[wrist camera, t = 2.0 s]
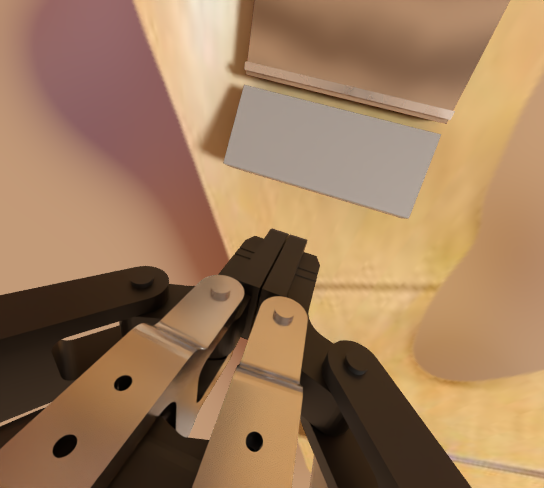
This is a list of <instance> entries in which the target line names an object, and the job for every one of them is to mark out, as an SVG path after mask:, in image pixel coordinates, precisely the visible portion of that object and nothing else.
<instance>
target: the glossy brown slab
mask: <svg viewBox="0 0 544 488" xmlns="http://www.w3.org/2000/svg"><path fill="white" fill-rule="evenodd" d="M509 2H510V0H255V1H254V10H253V18H252V27H251V35H250V44H249V52H248V60H247V61H245V68H244V70H246V75H250V76H254V77H258V78H263V79H267V80H271V81H275V82H279V83H283V84H287V85H291V86H295V87H299V88H303V89H307V90H311V91H315V92H319V93H323V94H327V95H331V96H335V97H339V98H344V99H348V100H352V101H356V102H360V103H364V104H368V105H372V106H376V107H380V108H384V109H388V110H392V111H396V112H400V113H404V114H408V115H412V116H416V117H420V118H424V119H429V120H433V121H437V122H441V123H445V124H447V122H448V120H451V118H452V116H453V114H454V112H455V111H453V110H454V108H455V106H456V104H457V102H458V100H459V98H460V97H461V95H462V93H463V91H464V89H465V87H466V85H467V83H468V81H469V79H470V77H471V75H472V73H473V71H474V69H475V68H476V66H477V64H478V62H479V60H480V58H481V56H482V54H483V52H484V50H485V48H486V46H487V44H488V42H489V40H490V39H491V37H492V35H493V33H494V31H495V29H496V27H497V25H498V23H499V21H500V19H501V17H502V15H503V13H504V11H505V10H506V8H507V6H508V4H509Z"/></svg>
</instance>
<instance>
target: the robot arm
mask: <svg viewBox="0 0 544 488" xmlns="http://www.w3.org/2000/svg"><path fill="white" fill-rule="evenodd" d="M306 244H307V240H306V239H303V238H300V237H297V236H293V235H289V234H287V233H284V232H281V231H278V230H275V229H270V231H269V232H268V234H267V235H266V237H265V238H264V239H263V238H260V237H257V236H254V237H251V238H249V239H247V240H245V241H244V243H243V244H242V245H241V246H240V248H239V249H238V250H237V251H236V253H235V255H233V257H232V258H231V259H230V260H229V262H228V263H227V264H226V265H225V267H224V268H223V269H222V270H221V272H220V273H219V274H218V275H213V276H209V277H206V278H204V279H203V280H201V281H200V282H199V283H198V284H197V285H196V286H184V285H174V284H169V278H168V275H167V274H166V273H165V272H164V271H163V270H161V269H158V268H156V267H150V266H140V267H134V268H129V269H124V270H120V271H115V272H110V273H105V274H101V275H96V276H91V277H86V278H82V279H76V280H72V281H67V282H62V283H57V284H52V285H48V286H43V287H38V288H33V289H28V290H23V291H19V292H14V293H9V294H4V295H0V422H3V421H5V420H8V419H10V418H13V417H15V416H18V415H20V414H23V413H25V412H28V411H30V410H33V409H35V408H38V407H40V406H43V405H45V404H48V403H50V402H51V403H50V404H49V405H48V406H47V407H46V408H43V409H40V410H38V411H35V412H33V413H30V414H28V415H26V416H24V417H21V418H19V419H17V420H15V421H12V422H10V423H8V424H5V425H3V426H1V427H0V488H292V482H293V474H294V465H295V457H296V449H297V440H298V432H299V424H300V419H301V423H302V426H303V429H304V431H305V433H306V436H307V438H308V441H309V443H310V445H311V448H312V450H313V453H314V455H315V458H316V460H317V462H318V465H319V467H320V470H321V472H322V474H323V477H324V479H325V482H326V484H327V487H328V488H471V486H470V485H469V484H468V482H467V481H466V479H465V478H464V477H463V475H462V474H461V473H460V471H459V470H458V469H457V467H456V466H455V464H454V463H453V462H452V460H451V459H450V458H449V456H448V455H447V454H446V452H445V451H444V449H443V448H442V447H441V445H440V444H439V443H438V441H437V440H436V439H435V437H434V436H433V434H432V433H431V432H430V430H429V429H428V428H427V426H426V425H425V424H424V422H423V421H422V419H421V418H420V417H419V415H418V414H417V413H416V411H415V410H414V409H413V407H412V406H411V404H410V403H409V402H408V400H407V399H406V398H405V396H404V395H403V394H402V392H401V391H400V389H399V388H398V387H397V385H396V384H395V383H394V381H393V380H392V379H391V377H390V376H389V374H388V373H387V372H386V370H385V369H384V368H383V366H382V365H381V364H380V362H379V361H378V359H377V358H376V357H375V356H374V354H373V353H372V352H370V351H369V350H368V349H367V348H366V347H364V346H362V345H360V344H358V343H356V342H353V341H346V340H343V341H339V342H336V343H334V344H333V343H332V342H330V341H329V340H327V339H326V338H324V337H323V336H322V335H320V334H319V333H318V332H317V331H316V330H315V328H314V327H313V326H312V324H311V322H310V320H309V316H308V311H309V307H310V303H311V299H312V295H313V291H314V287H315V282H316V279H317V274H318V271H319V267H320V264H319V262H318V259H317V256H314V255H311V254H308V253H305V252H304V250H305V247H306ZM118 321H119V323H120V325H119V326H116V327H113V328H110V329H107V330H103V331H100V332H97V333H94V334H90V335H87V336H84V337H81V338H77V339H74V340H68V341H65V340H61V339H63V338H66V337H69V336H72V335H76V334H79V333H82V332H85V331H88V330H92V329H95V328H99V327H102V326H105V325H109V324H112V323H115V322H118ZM249 336H250V337H249ZM240 337H242V338H244V339H247V340H248V342H247V345H246V348H245V351H244V353H243V356H242V359H241V361H240V364H239V365H238V366H237V368H236V370H235V372H234V375H233V377H232V380H231V383H230V386H229V388H228V391H227V394H226V396H225V399H224V402H223V405H222V408H221V410H220V413H219V416H218V418H217V421H216V424H215V427H214V429H213V432H212V435H211V437H210V440H203V439H195V438H188V436H189V434H190V432H191V429H192V427H193V425H194V422H195V419H196V417H197V414H198V412H199V410H200V408H201V407H202V405H203V403H204V402H205V400H206V398H207V397H208V395H209V393H210V392H211V390H212V388H213V387H214V385H215V383H216V382H217V380H218V378H219V377H220V375H221V373H222V372H223V370H224V368H225V367H226V365H227V363H228V362H229V360H230V358H231V356H232V353H233V350H234V348H235V347H236V345H237V343H238V341H239V339H240ZM248 338H249V339H248Z"/></svg>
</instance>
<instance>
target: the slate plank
mask: <svg viewBox="0 0 544 488" xmlns="http://www.w3.org/2000/svg"><path fill="white" fill-rule="evenodd" d="M440 136H441V134H437V133H433V132H429V131H425V130H421V129H417V128H413V127H409V126H405V125H401V124H397V123H393V122H389V121H385V120H381V119H377V118H373V117H369V116H366V115H362V114H358V113H354V112H350V111H346V110H342V109H338V108H334V107H330V106H326V105H322V104H318V103H314V102H310V101H306V100H302V99H298V98H294V97H290V96H286V95H282V94H279V93H275V92H271V91H267V90H263V89H259V88H255V87H251V86H247V85H244V87H243V91H242V95H241V99H240V102H239V106H238V110H237V114H236V117H235V121H234V125H233V129H232V132H231V136H230V140H229V144H228V147H227V151H226V155H225V159H224V162H223V163H224V164H226V165H228V166H230V167H233V168H236V169H239V170H243V171H246V172H249V173H253V174H256V175H259V176H263V177H266V178H269V179H273V180H276V181H279V182H283V183H286V184H289V185H293V186H296V187H299V188H303V189H306V190H309V191H313V192H316V193H319V194H323V195H326V196H329V197H333V198H336V199H339V200H343V201H346V202H349V203H353V204H356V205H359V206H363V207H366V208H369V209H373V210H376V211H379V212H383V213H386V214H389V215H393V216H396V217H399V218H407V219H409V216H410V214H411V211H412V209H413V206H414V203H415V201H416V198H417V196H418V193H419V191H420V188H421V185H422V183H423V180H424V178H425V175H426V173H427V170H428V167H429V165H430V162H431V160H432V157H433V154H434V152H435V149H436V147H437V144H438V142H439V139H440Z"/></svg>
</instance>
